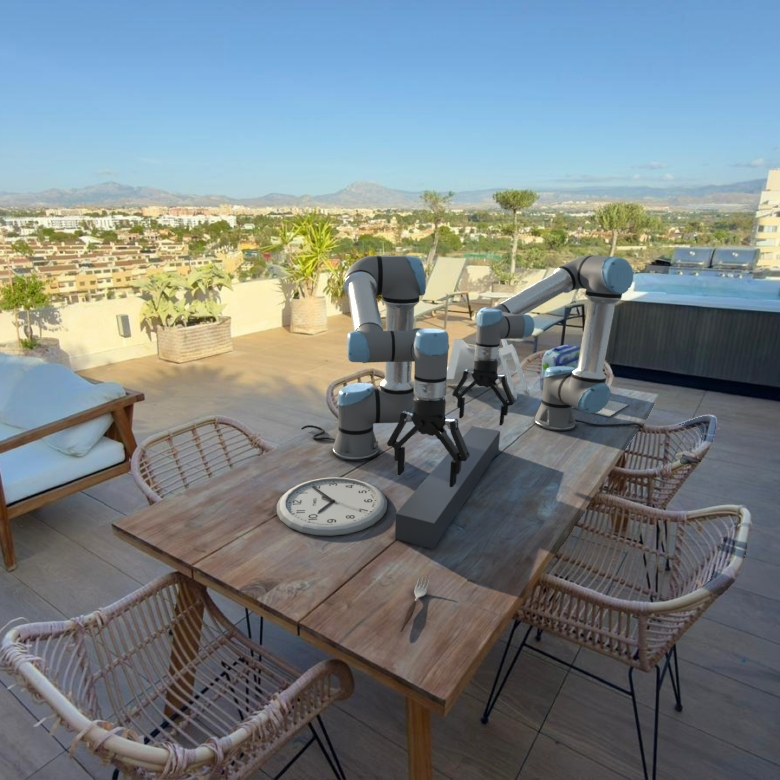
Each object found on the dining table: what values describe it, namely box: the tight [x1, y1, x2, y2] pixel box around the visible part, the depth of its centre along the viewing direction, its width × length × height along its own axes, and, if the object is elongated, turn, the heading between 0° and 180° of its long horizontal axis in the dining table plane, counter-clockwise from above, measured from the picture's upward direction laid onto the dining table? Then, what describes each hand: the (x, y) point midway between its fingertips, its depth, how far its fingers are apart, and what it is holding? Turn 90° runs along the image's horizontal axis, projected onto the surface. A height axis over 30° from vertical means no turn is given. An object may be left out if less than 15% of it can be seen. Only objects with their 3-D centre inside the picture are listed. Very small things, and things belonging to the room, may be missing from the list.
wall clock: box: [276, 476, 388, 537], centre depth 142 cm, size 30×2×30 cm
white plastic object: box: [446, 338, 531, 400], centre depth 245 cm, size 37×45×31 cm
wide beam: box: [394, 425, 501, 550], centre depth 153 cm, size 65×10×7 cm, turn 155°
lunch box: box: [539, 344, 581, 391], centre depth 246 cm, size 26×11×21 cm, turn 135°
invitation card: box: [595, 399, 629, 418], centre depth 226 cm, size 21×1×15 cm
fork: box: [400, 573, 431, 633], centre depth 105 cm, size 3×16×2 cm, turn 160°
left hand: (426, 479), depth 128 cm, fingers open, 13 cm apart
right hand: (481, 420), depth 173 cm, fingers open, 13 cm apart
